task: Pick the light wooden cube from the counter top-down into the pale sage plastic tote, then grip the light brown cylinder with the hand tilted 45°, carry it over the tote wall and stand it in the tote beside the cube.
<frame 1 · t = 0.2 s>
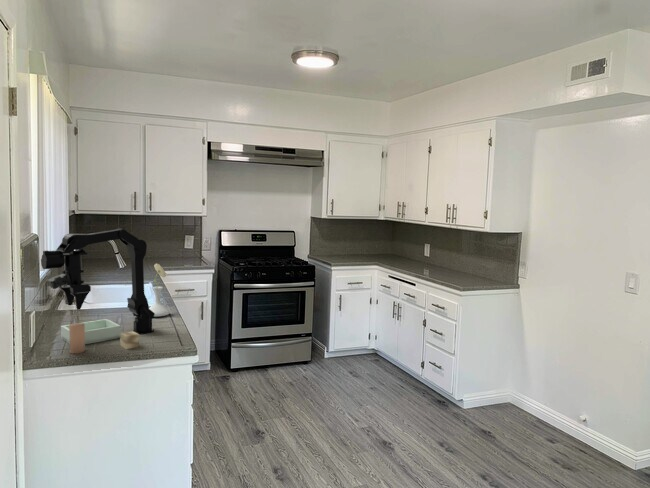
hand: (74, 307, 190), 14 cm above the countertop, tool pointing down, fingers open, 9 cm apart
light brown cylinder: (77, 351, 183), on the countertop
flower in vase: (157, 315, 239), on the countertop
tote: (91, 337, 200), on the countertop
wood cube: (129, 346, 191), on the countertop
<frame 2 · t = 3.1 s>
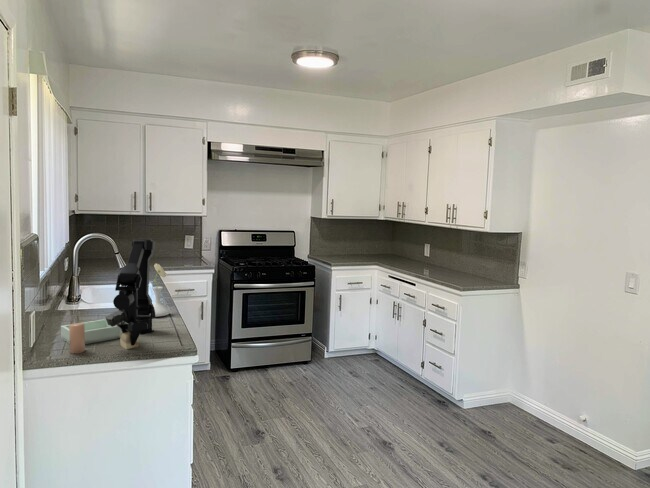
hand: (129, 343, 191), 1 cm above the countertop, tool pointing down, fingers closed on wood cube, 5 cm apart
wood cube: (129, 346, 191), on the countertop, touching gripper
everything else where it was.
when the fingers open (4 cm above the countertop, at t = 7.6 s): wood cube drops 2 cm, resting on tote.
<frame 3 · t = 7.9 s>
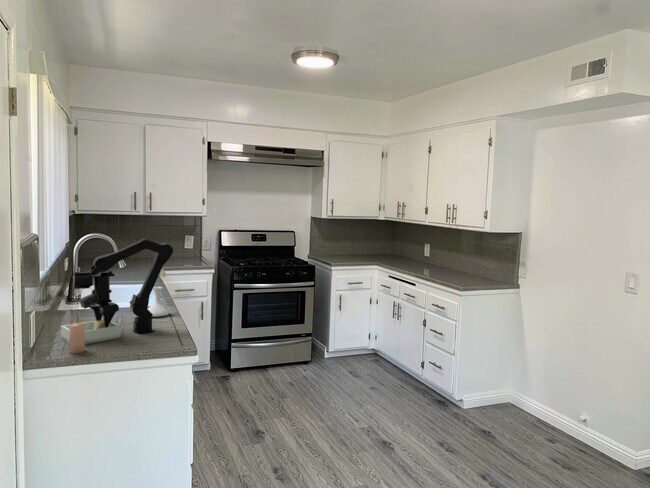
hand: (102, 325, 203), 4 cm above the countertop, tool pointing down, fingers open, 8 cm apart
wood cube: (102, 333, 203), point 1 cm above the countertop, touching tote
everything else where it was.
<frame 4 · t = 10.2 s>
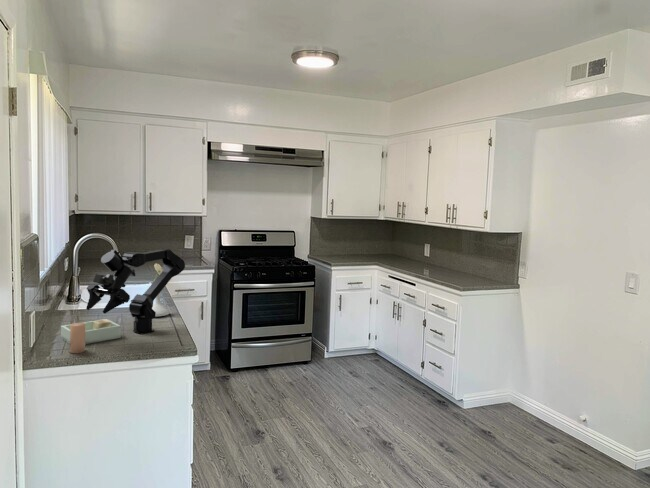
hand: (95, 311, 189), 13 cm above the countertop, tool tilted 45°, fingers open, 9 cm apart
nothing on the countertop moved.
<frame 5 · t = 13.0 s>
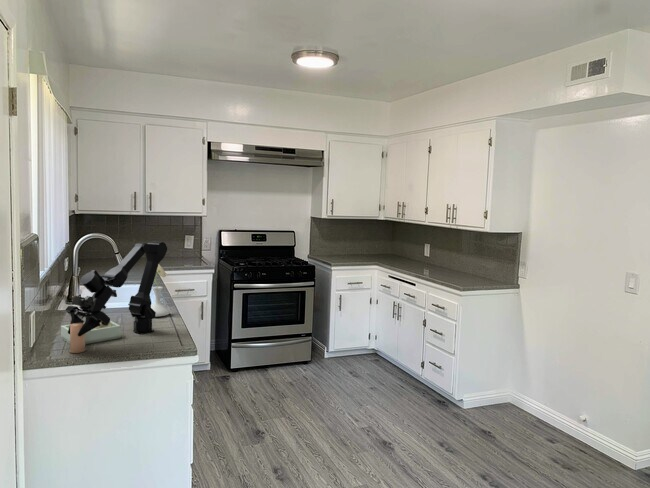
hand: (73, 334, 181), 7 cm above the countertop, tool tilted 45°, fingers closed on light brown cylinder, 5 cm apart
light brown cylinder: (77, 351, 183), on the countertop, touching gripper
everything else where it was.
when the fingers open (9 cm above the countertop, at t = 17.1 s): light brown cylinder drops 1 cm, resting on tote.
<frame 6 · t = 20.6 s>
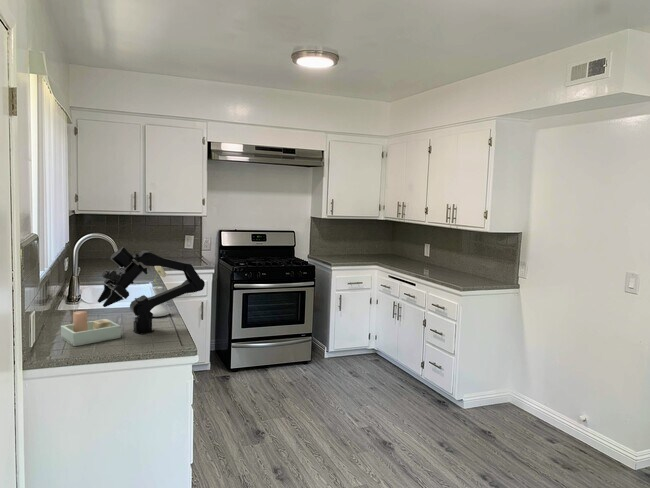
hand: (100, 304, 200), 14 cm above the countertop, tool tilted 45°, fingers open, 9 cm apart
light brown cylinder: (80, 337, 197), point 1 cm above the countertop, touching tote
everything else where it was.
at the end: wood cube inside the target area on the tote (4.4 cm from its centre), point 1.0 cm above the tote's base; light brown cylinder inside the target area on the tote (3.9 cm from its centre), point 1.0 cm above the tote's base; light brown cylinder tilted 1° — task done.
